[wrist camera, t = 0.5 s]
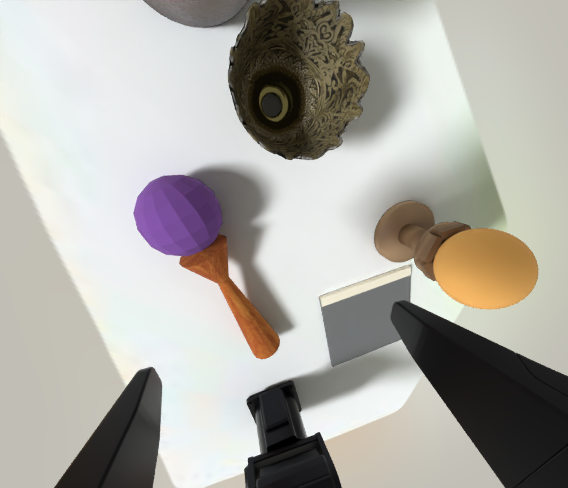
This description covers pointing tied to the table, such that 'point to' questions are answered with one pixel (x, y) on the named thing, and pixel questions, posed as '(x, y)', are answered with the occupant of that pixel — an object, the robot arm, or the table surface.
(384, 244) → the ball tee
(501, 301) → the rubber ball
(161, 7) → the pillar candle
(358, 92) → the cup
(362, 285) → the mat
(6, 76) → the table surface
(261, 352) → the kendama
